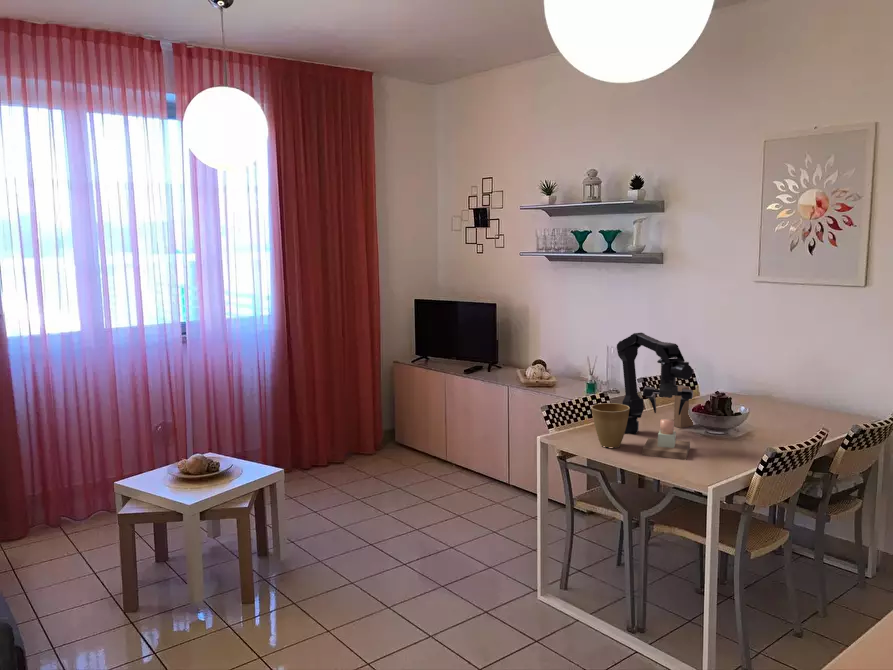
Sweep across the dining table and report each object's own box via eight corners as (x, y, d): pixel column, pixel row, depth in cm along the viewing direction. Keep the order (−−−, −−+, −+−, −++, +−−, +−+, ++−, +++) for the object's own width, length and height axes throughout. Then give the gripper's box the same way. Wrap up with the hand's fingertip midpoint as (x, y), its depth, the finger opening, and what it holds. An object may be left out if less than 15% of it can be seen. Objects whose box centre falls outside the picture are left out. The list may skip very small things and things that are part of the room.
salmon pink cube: (659, 433, 281) (659, 421, 280) (661, 430, 285) (661, 418, 285) (672, 435, 279) (672, 422, 278) (674, 431, 283) (674, 419, 283)
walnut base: (642, 455, 279) (642, 448, 279) (648, 443, 294) (648, 437, 293) (686, 459, 273) (686, 453, 272) (689, 447, 287) (690, 441, 287)
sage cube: (657, 446, 281) (657, 434, 281) (659, 442, 287) (659, 430, 286) (673, 448, 279) (674, 435, 278) (675, 443, 284) (675, 431, 284)
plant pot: (624, 440, 299) (625, 402, 297) (632, 451, 284) (633, 411, 282) (588, 440, 299) (588, 402, 297) (594, 451, 285) (594, 411, 282)
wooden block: (688, 423, 323) (689, 383, 321) (695, 425, 319) (697, 385, 317) (673, 426, 319) (674, 386, 316) (681, 428, 315) (682, 388, 313)
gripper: (641, 377, 283) (640, 416, 285) (691, 380, 276) (690, 420, 278) (645, 372, 293) (644, 410, 295) (693, 375, 286) (692, 414, 288)
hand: (667, 413), depth 289 cm, fingers open, 9 cm apart
